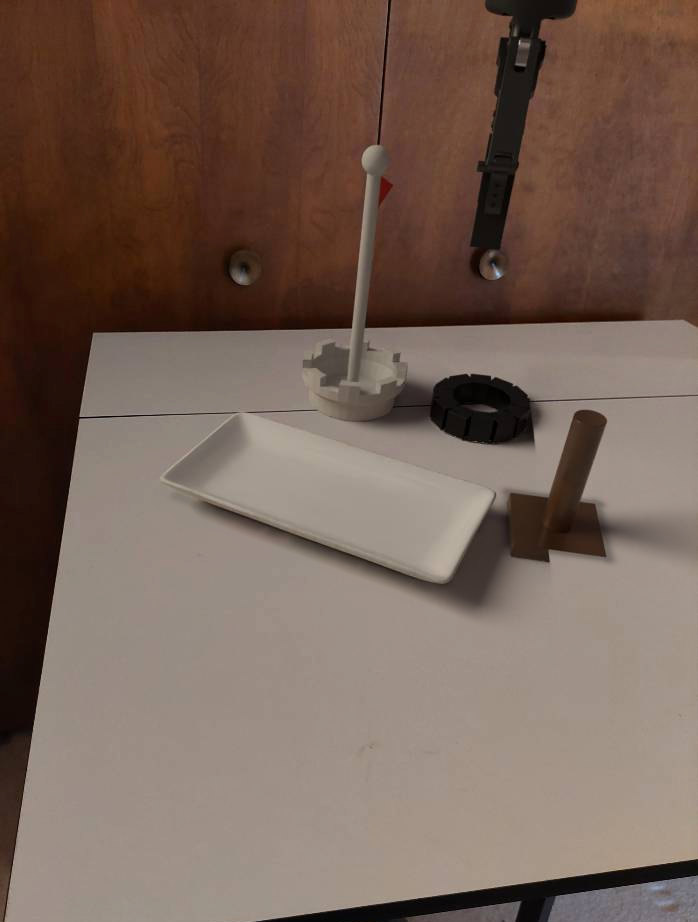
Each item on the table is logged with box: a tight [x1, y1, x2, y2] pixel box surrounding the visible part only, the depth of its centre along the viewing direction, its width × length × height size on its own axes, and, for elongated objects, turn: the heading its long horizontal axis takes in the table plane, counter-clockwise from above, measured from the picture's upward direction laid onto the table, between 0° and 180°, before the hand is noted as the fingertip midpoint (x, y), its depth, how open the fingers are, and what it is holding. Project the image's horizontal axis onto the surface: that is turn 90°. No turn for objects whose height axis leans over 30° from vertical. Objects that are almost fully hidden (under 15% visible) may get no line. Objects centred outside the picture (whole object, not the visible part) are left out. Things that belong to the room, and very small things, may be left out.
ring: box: [429, 373, 532, 444], centre depth 99 cm, size 12×12×3 cm
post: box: [506, 409, 608, 562], centre depth 78 cm, size 9×9×14 cm
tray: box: [159, 411, 497, 585], centre depth 83 cm, size 17×31×4 cm, turn 63°
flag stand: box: [301, 144, 409, 422], centre depth 93 cm, size 13×13×30 cm
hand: (487, 224), depth 79 cm, fingers open, 13 cm apart
